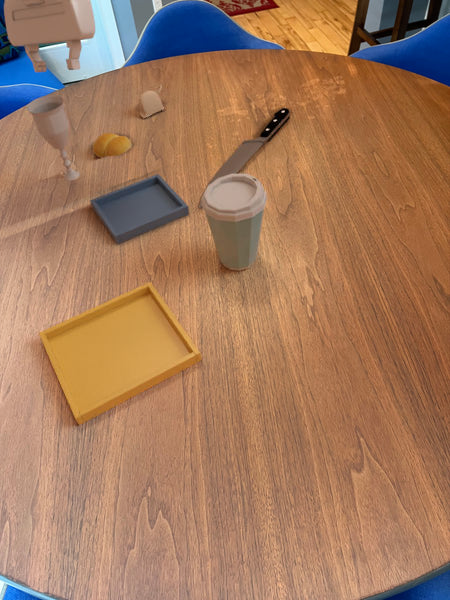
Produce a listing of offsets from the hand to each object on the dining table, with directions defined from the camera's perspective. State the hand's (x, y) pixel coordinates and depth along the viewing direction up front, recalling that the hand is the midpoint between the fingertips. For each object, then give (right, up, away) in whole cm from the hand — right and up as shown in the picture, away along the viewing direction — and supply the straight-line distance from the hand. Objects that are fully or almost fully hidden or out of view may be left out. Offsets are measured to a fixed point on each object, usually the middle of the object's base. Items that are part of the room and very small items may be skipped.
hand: (57, 71), depth 89 cm
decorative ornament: (+12, +6, +36) cm, 39 cm away
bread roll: (+5, -8, +24) cm, 26 cm away
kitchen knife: (+36, -11, +19) cm, 42 cm away
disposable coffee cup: (+33, -35, -2) cm, 48 cm away
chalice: (-2, -17, +17) cm, 24 cm away
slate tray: (+14, -24, +9) cm, 29 cm away
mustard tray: (+15, -50, -14) cm, 54 cm away
